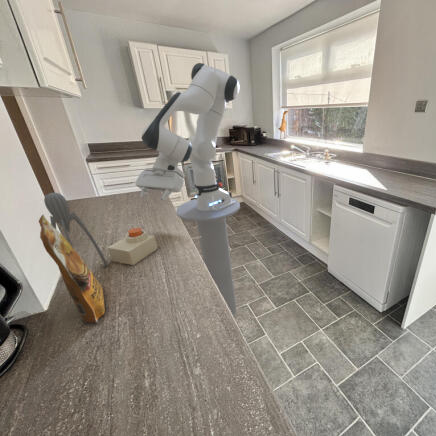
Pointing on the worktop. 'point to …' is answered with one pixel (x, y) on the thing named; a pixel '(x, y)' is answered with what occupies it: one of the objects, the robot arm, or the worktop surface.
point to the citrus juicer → (66, 217)
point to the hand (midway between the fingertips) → (152, 198)
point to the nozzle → (135, 232)
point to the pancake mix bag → (74, 273)
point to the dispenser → (132, 248)
